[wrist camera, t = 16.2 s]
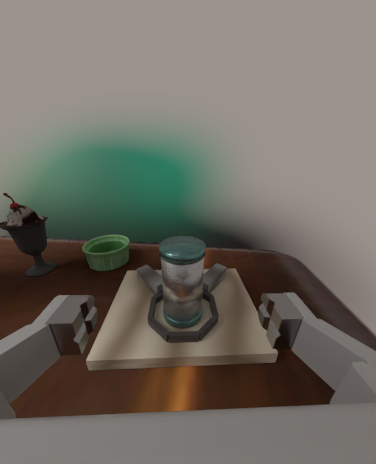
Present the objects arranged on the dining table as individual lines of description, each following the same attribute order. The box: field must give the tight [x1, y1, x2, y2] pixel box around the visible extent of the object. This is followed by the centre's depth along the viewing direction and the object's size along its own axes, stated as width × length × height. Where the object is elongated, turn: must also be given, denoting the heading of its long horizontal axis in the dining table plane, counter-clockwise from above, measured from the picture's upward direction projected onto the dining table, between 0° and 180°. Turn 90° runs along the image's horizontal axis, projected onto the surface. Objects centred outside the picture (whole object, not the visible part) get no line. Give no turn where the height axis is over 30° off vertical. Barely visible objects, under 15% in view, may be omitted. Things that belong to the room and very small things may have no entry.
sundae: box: [0, 193, 57, 277], centre depth 33 cm, size 7×7×15 cm
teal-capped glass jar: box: [159, 236, 205, 329], centre depth 23 cm, size 5×5×10 cm
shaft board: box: [86, 263, 278, 370], centre depth 26 cm, size 20×16×4 cm
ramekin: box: [82, 235, 129, 271], centre depth 39 cm, size 9×9×4 cm
